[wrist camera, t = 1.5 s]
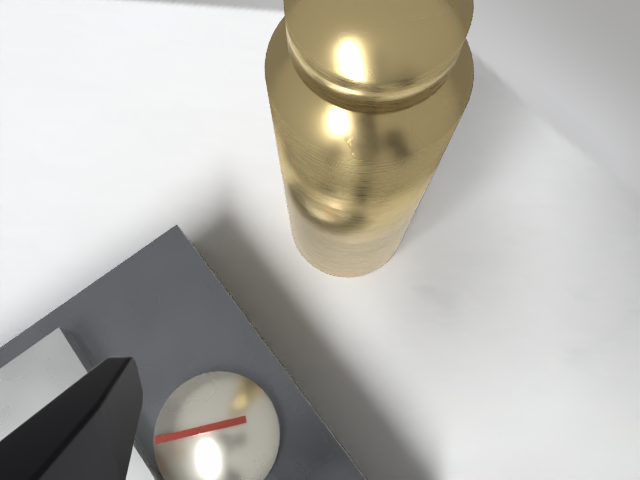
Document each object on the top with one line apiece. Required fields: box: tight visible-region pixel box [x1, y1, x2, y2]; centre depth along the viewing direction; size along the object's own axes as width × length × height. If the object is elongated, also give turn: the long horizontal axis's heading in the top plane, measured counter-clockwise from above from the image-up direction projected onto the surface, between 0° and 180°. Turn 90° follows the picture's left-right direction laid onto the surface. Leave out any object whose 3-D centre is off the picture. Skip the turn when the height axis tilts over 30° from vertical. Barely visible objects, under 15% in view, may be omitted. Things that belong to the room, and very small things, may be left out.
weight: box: [265, 0, 474, 277], centre depth 17 cm, size 5×5×14 cm
